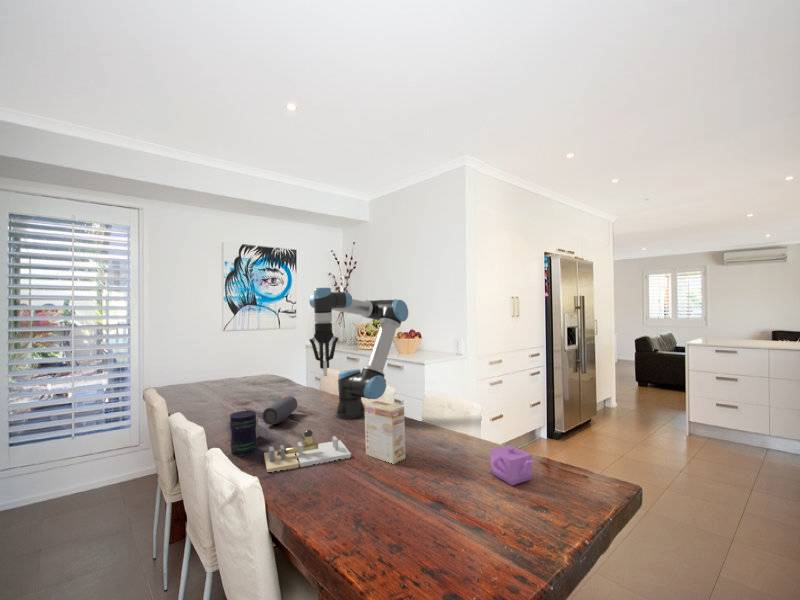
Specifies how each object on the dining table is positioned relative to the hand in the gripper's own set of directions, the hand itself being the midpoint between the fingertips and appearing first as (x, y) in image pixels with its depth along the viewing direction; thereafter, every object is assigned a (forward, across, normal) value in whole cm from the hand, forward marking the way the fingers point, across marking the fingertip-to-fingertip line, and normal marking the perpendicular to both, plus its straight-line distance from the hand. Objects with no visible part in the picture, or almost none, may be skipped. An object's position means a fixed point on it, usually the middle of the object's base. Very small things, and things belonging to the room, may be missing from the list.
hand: (324, 375), depth 174 cm
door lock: (+26, +12, +21) cm, 36 cm away
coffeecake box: (+27, -15, +34) cm, 46 cm away
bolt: (+24, +15, +21) cm, 35 cm away
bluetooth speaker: (+27, +16, -33) cm, 45 cm away
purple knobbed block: (+27, -45, +70) cm, 87 cm away
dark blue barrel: (+27, +34, +3) cm, 43 cm away
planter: (+27, +33, -12) cm, 44 cm away
